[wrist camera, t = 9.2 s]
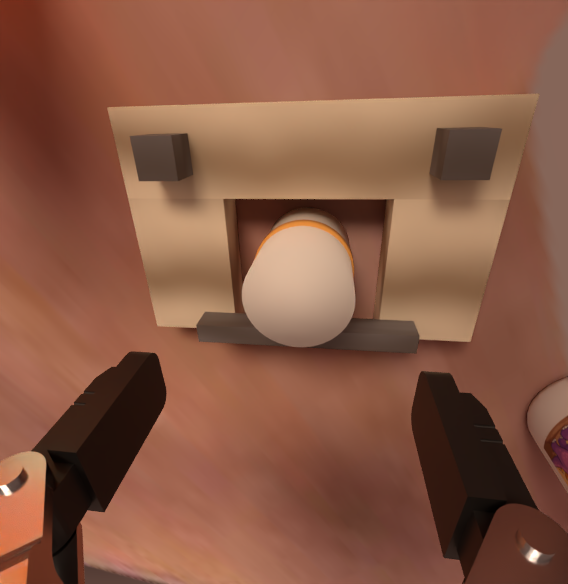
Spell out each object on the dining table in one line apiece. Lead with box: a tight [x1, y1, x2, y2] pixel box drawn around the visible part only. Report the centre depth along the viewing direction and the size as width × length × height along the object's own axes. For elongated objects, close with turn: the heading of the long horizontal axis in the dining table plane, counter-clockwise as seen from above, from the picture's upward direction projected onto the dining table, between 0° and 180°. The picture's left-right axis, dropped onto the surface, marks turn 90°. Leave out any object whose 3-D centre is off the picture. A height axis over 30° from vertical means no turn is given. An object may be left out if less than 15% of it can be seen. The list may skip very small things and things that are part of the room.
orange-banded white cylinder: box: [242, 207, 355, 347], centre depth 19 cm, size 5×5×7 cm
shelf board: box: [107, 94, 539, 354], centre depth 19 cm, size 13×20×4 cm, turn 91°
